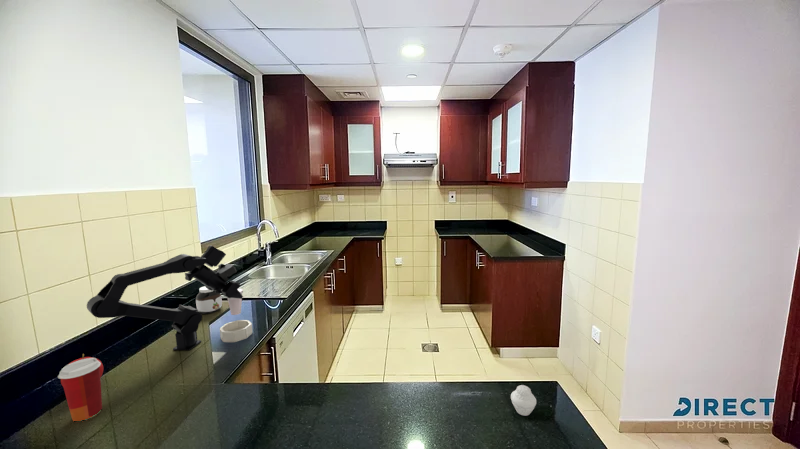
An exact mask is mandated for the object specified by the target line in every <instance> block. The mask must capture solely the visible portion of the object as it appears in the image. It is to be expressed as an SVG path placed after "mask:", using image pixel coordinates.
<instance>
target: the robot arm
mask: <svg viewBox="0 0 800 449" xmlns="http://www.w3.org/2000/svg"><path fill="white" fill-rule="evenodd" d="M226 255H227V254H226V253H225V252H224V251H223V250H220V249H218V248H217V247H215V246H213V245H209V246H208V247H207V248H206V250H204V253H202V255H201V256H199V255H190V254H186V253H181V254H179V255H176V256H174V257H171V258H169V259H167V260H166V261H164V262H162V263H161V262H160V263H157V264H154V265H153V264H152V265H150V266H145V267H142V268H139V269H135V270H131V271H128V272H124V273H117V274H115V275H114V276H113V277H112V278H111V280H109V281H108V283H106V285H105V286H103V287H102V288H101V289H100V290H99V292H98V293H97V294H96V295H95V296H93V297H91V298H90V299H89V300H88V301H87V303H86V308H87V310H88V312H89V313H90V314H91V315H92V316H93V317H95V318H97V319H109V318H111V319H112V318H121V317H132V318H142V319H150V320H158V321H160V320H161V321H168V322H173V323H172V325H171V327H172V328H173V330H174V331H176V333H174V334H175V344H176V346H174V347H173V348H172V350H173V351H190V350H192V349H193V348H195V347H196V346H198V345H199V344H200V343H201V342H202V340H201V339H198V333H197V331H198V330H199V326H200V323H201V322H202V320H203V314H202V313H200V312H199V311H198V310H197V308H195V307H193V306H191V305H188V306H187V305H182V304H179V305H178V307H177V308H167V307H160V306H153V305H146V304H138V303H133V302H127V301H124V300H121V299H122V297H123V295H124V293H125V292H126V289H127V288H128V287H129V286H132V285H135V284H139V283H142V282H146V281H149V280H152V279H156V278H159V277H162V276H166V275H170V274H181V273H184V276H185V277H184V279H185V280H186V281H188V282H191V281H192V280H193V279H195V280H196V281H198V282H200V283H201V284H203V285H204V286H206V288H207V289H209V290H211V291H212V290H213V291H214V292H216V293H220V294H221V296H223V297H225V298H227V297H228V298H240V299H242V300H243V297H244V296H243V294H242V295H241V293H240V292H239V291H238V290H237V289H240V287H241V284H240V283H239V282H237V281H236V280H229V277H231V276H232V275H234V274H236V273H237V271H238V270H237V269H236V267H235V265H233V264H231V263H225V264H224V263H221V261H223V259H224V258H225V256H226ZM208 266H209V267H208ZM213 267H214V268H215V267H218V269H217V271H216V270H213V269H211V268H213Z"/></svg>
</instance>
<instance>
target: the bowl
mask: <svg viewBox="0 0 800 449" xmlns="http://www.w3.org/2000/svg"><path fill="white" fill-rule="evenodd" d="M252 334H253V323H252V322H251V321H250V320H249V319H237V320H234V321H230V322H227V323H225V324H223V325H222V326H221V327H219V337H220V339H221V341H222V343H237V342H240V341H243V340H247V339H248V338H249V337H250V336H251V335H252Z"/></svg>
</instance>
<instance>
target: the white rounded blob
mask: <svg viewBox="0 0 800 449" xmlns="http://www.w3.org/2000/svg"><path fill="white" fill-rule="evenodd" d="M531 390H532V389H531V388H530V387H529V386H527V385H524V384H521V385H518V386H516V389H515V390H513V391H512V392H511V394H510V399H511V403H512V405H513V407H514V409H515V410H516V413H517V414H519V415H521V416H529V415H530V414H531V413H532V412H533V410H534V409H535V408H536V406H537V398H536V397H535V395H534V394H533V393H532V391H531Z"/></svg>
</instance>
